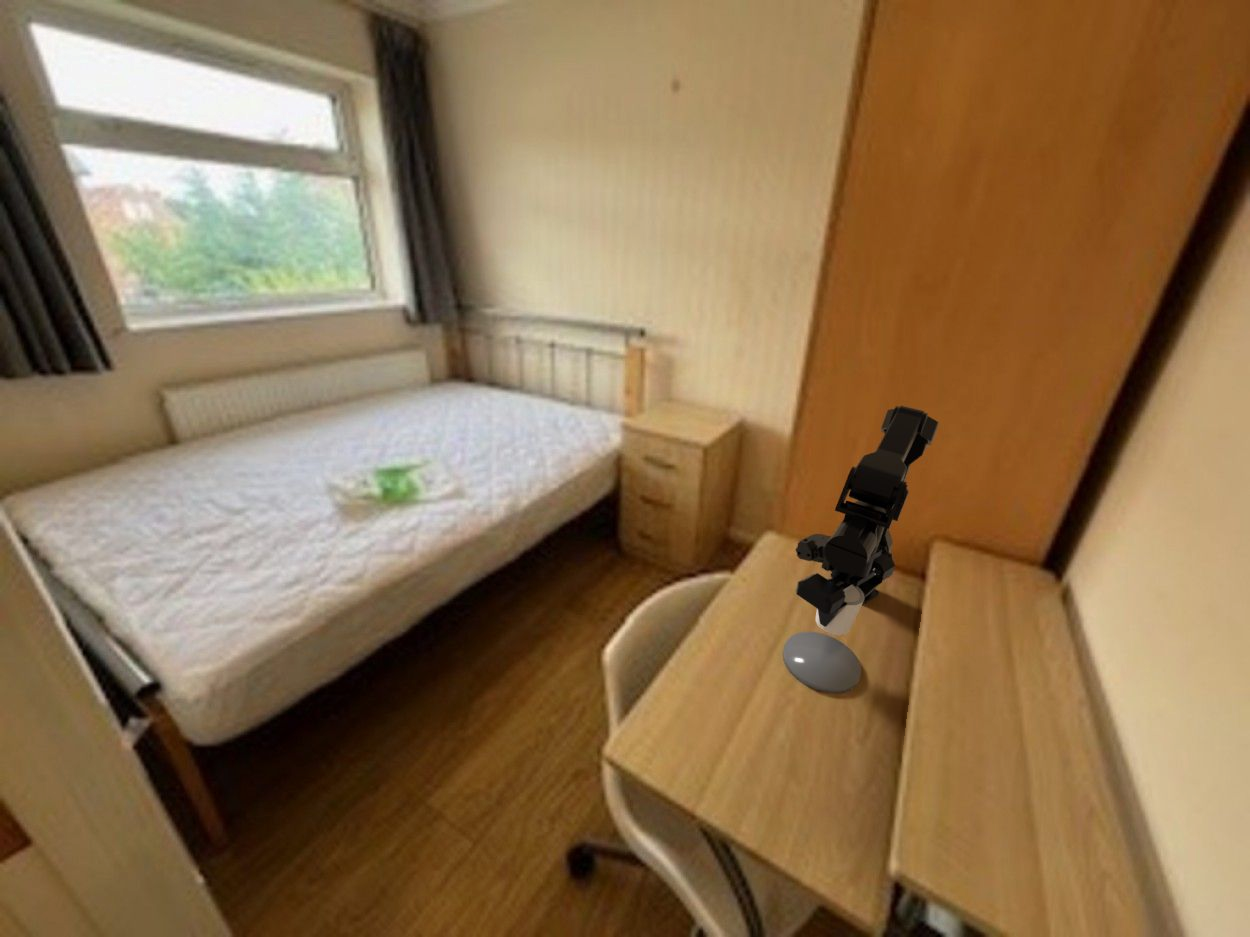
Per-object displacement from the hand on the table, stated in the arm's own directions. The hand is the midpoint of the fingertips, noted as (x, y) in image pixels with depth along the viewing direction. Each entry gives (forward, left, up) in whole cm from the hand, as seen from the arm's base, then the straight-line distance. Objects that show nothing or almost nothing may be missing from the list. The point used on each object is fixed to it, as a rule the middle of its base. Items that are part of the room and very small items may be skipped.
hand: (834, 617), depth 92 cm
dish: (0, 0, -10) cm, 10 cm away
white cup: (0, 0, -2) cm, 2 cm away
